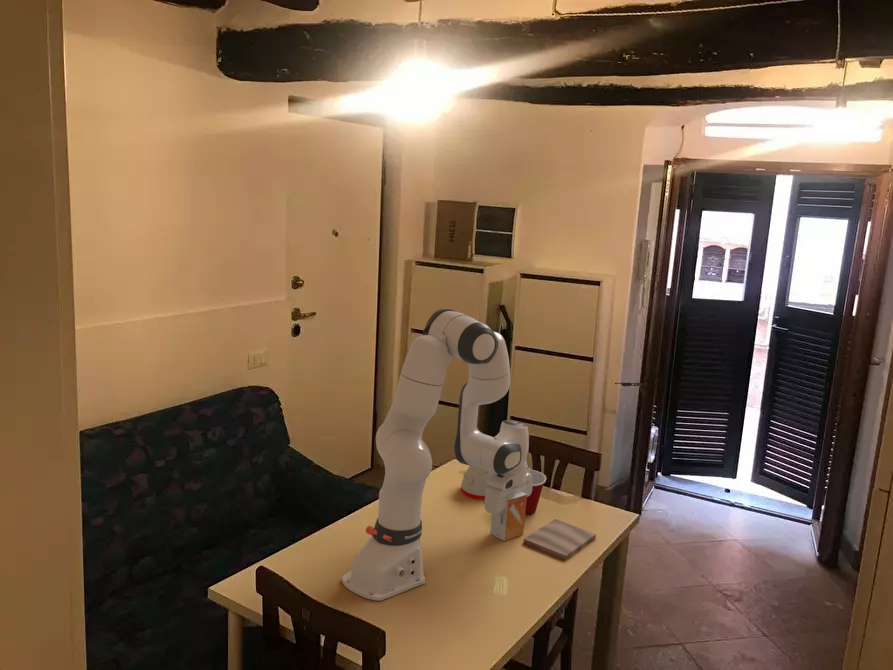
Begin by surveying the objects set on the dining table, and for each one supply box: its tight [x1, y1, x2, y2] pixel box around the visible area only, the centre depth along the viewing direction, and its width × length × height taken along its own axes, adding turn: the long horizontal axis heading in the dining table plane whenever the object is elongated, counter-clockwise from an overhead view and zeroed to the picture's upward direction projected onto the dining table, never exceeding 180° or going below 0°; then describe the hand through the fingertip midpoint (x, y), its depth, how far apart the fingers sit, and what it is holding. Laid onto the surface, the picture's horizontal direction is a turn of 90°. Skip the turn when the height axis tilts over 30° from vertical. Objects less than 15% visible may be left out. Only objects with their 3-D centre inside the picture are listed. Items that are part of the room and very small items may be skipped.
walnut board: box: [523, 518, 597, 561], centre depth 215 cm, size 18×14×2 cm
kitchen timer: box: [460, 465, 492, 501], centre depth 245 cm, size 14×14×15 cm
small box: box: [490, 492, 527, 542], centre depth 216 cm, size 8×6×13 cm
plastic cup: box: [525, 469, 547, 516], centre depth 232 cm, size 11×11×12 cm
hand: (507, 517), depth 216 cm, fingers closed on small box, 8 cm apart
